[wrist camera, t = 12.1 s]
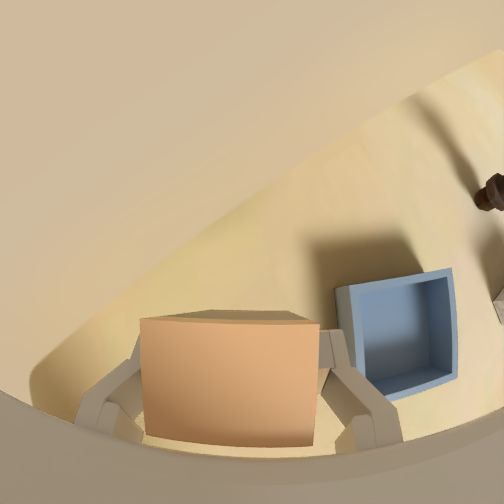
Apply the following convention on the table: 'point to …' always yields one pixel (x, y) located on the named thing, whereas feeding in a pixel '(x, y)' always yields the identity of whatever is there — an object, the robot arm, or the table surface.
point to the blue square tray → (401, 331)
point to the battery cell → (230, 377)
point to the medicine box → (500, 305)
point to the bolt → (492, 194)
